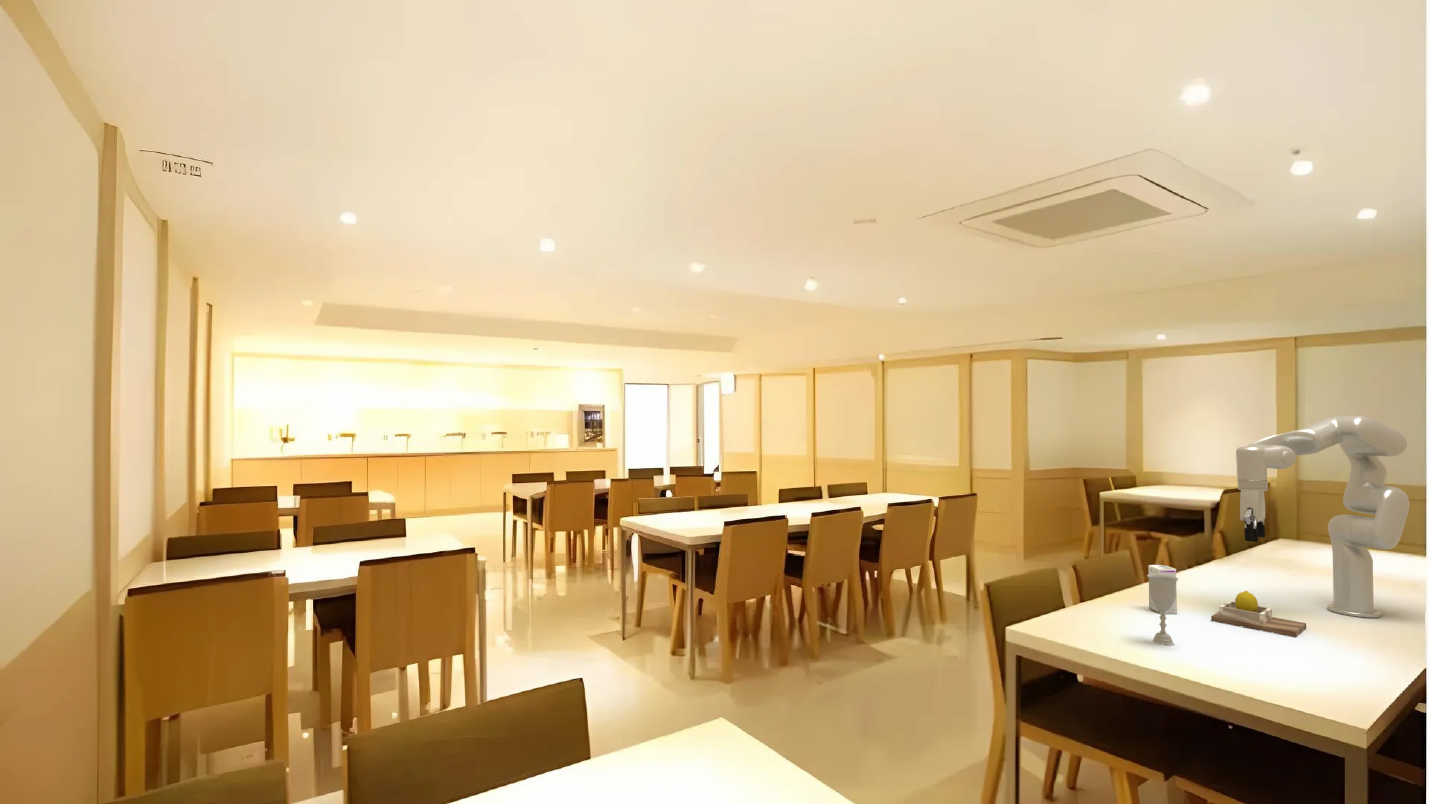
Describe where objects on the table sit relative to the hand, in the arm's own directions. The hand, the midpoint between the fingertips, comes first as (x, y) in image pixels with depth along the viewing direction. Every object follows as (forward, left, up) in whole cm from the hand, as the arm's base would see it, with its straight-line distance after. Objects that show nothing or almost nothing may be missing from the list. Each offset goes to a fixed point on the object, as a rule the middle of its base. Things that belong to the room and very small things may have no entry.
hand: (1255, 539), depth 213 cm
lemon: (+10, 0, -23) cm, 25 cm away
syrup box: (+18, -20, -25) cm, 37 cm away
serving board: (+11, +3, -24) cm, 27 cm away
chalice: (+54, -9, -25) cm, 60 cm away
